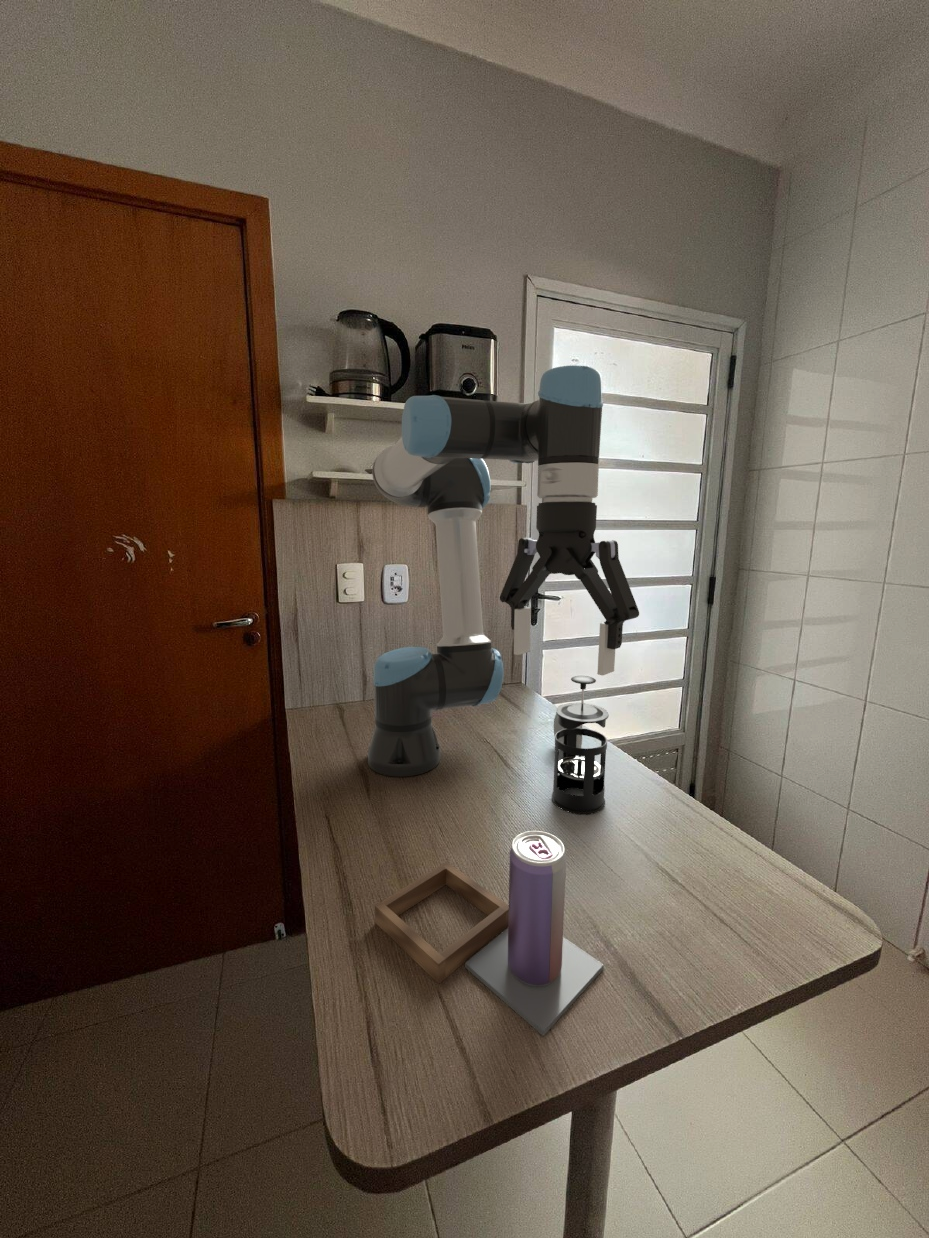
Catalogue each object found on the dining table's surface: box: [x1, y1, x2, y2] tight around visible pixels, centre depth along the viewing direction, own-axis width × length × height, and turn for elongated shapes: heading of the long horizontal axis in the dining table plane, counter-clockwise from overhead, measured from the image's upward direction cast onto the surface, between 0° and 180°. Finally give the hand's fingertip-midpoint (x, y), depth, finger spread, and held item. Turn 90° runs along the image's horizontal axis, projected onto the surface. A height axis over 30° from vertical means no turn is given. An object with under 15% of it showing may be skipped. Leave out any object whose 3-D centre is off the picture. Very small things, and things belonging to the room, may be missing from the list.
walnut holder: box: [374, 861, 509, 984], centre depth 64 cm, size 12×12×2 cm
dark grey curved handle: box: [553, 714, 580, 753], centre depth 110 cm, size 10×4×10 cm, turn 13°
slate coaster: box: [464, 927, 604, 1037], centre depth 58 cm, size 11×11×1 cm
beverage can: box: [507, 830, 567, 987], centre depth 56 cm, size 6×6×15 cm
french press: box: [551, 675, 609, 815], centre depth 91 cm, size 12×9×23 cm
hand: (560, 662), depth 69 cm, fingers open, 13 cm apart
